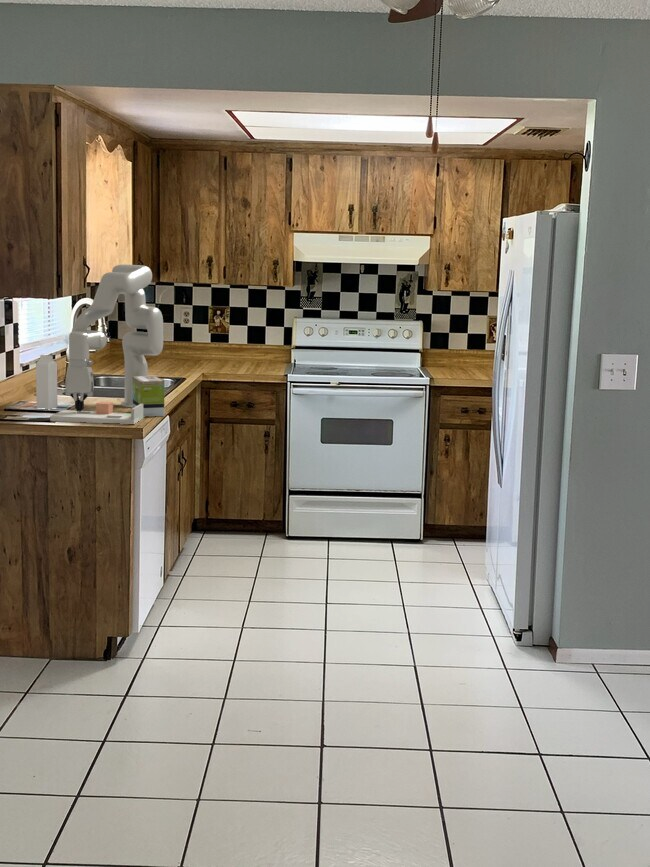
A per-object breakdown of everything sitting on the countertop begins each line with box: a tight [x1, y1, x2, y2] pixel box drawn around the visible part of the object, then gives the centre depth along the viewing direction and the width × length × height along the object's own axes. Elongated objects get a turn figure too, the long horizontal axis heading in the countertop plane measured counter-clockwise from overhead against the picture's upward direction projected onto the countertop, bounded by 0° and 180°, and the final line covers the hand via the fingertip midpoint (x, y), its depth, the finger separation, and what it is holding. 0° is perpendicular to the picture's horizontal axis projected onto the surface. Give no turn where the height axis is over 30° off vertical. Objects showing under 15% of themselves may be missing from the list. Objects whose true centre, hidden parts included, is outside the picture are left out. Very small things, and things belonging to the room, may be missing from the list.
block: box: [95, 401, 114, 414], centre depth 371 cm, size 5×5×4 cm
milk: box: [35, 354, 59, 409], centre depth 387 cm, size 6×6×22 cm
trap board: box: [49, 404, 144, 425], centre depth 366 cm, size 15×32×6 cm, turn 87°
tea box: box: [132, 375, 165, 418], centre depth 385 cm, size 15×10×15 cm
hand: (79, 410), depth 370 cm, fingers closed
